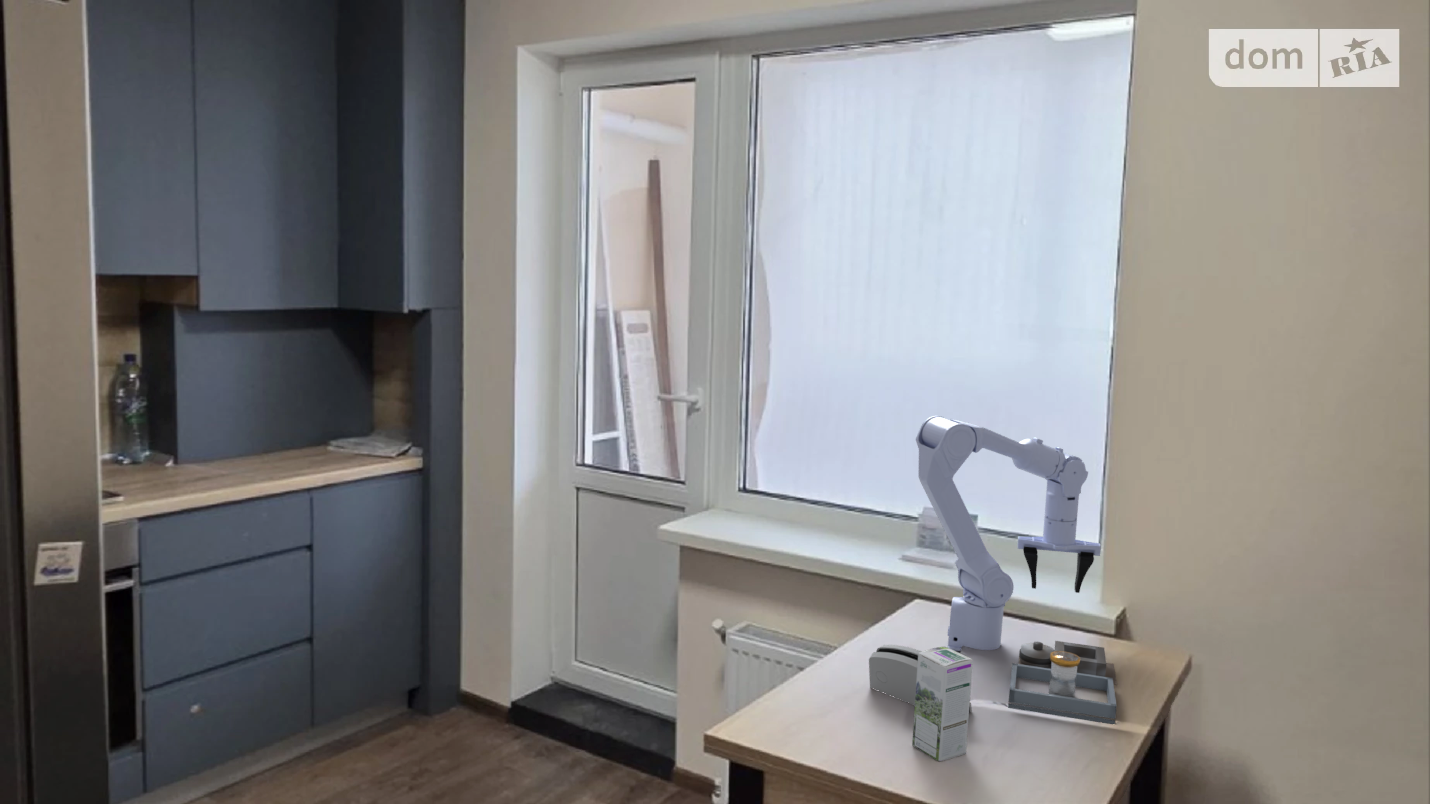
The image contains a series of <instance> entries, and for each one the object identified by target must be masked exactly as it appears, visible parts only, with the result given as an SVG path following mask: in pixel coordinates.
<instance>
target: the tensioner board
mask: <svg viewBox="0 0 1430 804" xmlns="http://www.w3.org/2000/svg"><path fill="white" fill-rule="evenodd" d="M1055 651H1064V652H1070V653H1073V654H1075V655H1077V656H1079V657H1080V664H1079V665H1078V666H1077V673H1082V674H1089V675H1096V676H1102V677H1109V678H1113V685H1114V686H1117V685H1118V684H1117V676H1116V671H1115V663H1111V662H1107V659H1106V651H1105V647H1103V646H1095V645H1089V644H1082V643H1073V642H1068V641H1061V640H1055V641H1054V648H1052V647H1051V646H1049V645H1046V644H1044V643H1043V642H1041V641H1034V642H1027V643H1023V644H1021V646H1020V649H1019V651H1018V653H1019V654H1018V663H1017V664H1022V665H1028V666H1035V667H1042V668H1049V669H1051V663H1052V661H1051V660H1050V654H1051V653H1052V652H1055Z"/></svg>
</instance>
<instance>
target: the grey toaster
mask: <svg viewBox="0 0 1430 804" xmlns="http://www.w3.org/2000/svg"><path fill="white" fill-rule="evenodd" d="M919 652H923V651H922V650H919V649H916V648H913V647H909V646H905V645H899V644H883V645H881V646H879V647H877V648H876V651H874V652H872V653H871V655H870V657H869V658H868V671H869V672H868V673H869V689H870V688H874V689H876V690H879V691H880V692H879V693H881V692H884V693H886V694H887V695H886V694H885V695H886V696H889V695H891V696H894V697H895V698H894V697H893V698H894V699H896V698H899V699H901V700H900V701H902V700H903V701H902V702H904V701H906V702H905V703H907V702H909V703H911V704H910V705H912V704H913V706H915V696H916V681H917V665H918V654H919ZM876 690H875V691H876ZM891 696H890V697H891ZM899 699H898V700H899ZM909 703H908V704H909ZM969 712H972V713H973V707H972V703H971V702H970V704H969Z"/></svg>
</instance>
